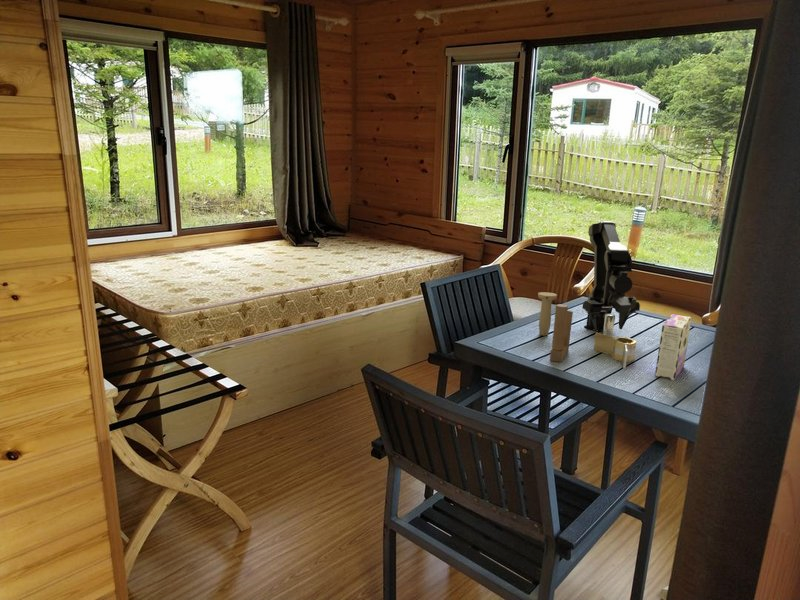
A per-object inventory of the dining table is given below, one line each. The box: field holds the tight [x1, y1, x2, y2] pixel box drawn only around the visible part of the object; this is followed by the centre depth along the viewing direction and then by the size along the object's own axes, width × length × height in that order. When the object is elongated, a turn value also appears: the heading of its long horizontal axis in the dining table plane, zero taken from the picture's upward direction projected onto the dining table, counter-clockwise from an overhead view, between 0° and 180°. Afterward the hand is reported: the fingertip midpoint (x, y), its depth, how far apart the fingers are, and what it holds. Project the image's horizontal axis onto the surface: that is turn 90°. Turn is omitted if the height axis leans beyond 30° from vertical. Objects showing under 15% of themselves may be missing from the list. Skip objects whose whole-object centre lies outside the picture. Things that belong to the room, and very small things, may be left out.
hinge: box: [593, 331, 637, 370], centre depth 193 cm, size 16×12×6 cm
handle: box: [537, 291, 558, 337], centre depth 213 cm, size 5×6×15 cm
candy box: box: [654, 313, 692, 381], centre depth 182 cm, size 14×6×16 cm, turn 145°
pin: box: [602, 313, 616, 337], centre depth 207 cm, size 3×3×10 cm
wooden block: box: [549, 303, 574, 363], centre depth 192 cm, size 4×11×18 cm, turn 153°
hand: (608, 329), depth 207 cm, fingers open, 9 cm apart
